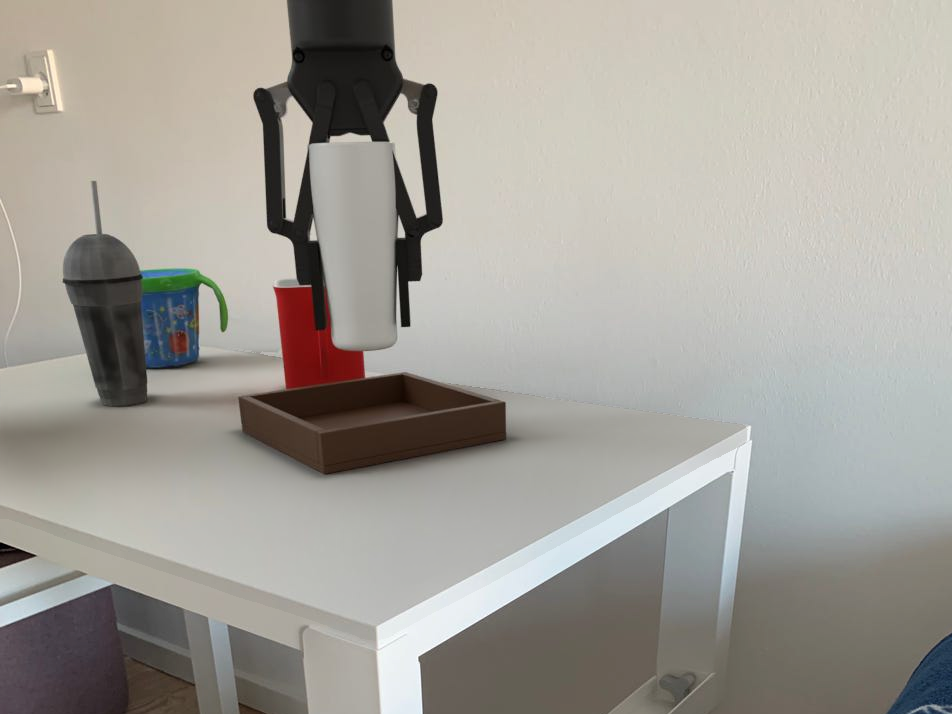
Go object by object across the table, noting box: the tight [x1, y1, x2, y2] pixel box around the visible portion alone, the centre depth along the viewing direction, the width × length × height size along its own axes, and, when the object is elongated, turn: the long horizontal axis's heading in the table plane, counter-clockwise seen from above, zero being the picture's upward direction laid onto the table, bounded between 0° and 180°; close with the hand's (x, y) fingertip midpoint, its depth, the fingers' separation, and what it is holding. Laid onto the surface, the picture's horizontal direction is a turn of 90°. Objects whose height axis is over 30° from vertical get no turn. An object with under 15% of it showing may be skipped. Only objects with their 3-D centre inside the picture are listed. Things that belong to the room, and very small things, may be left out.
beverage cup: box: [62, 180, 149, 407], centre depth 96 cm, size 7×7×20 cm
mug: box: [272, 277, 366, 389], centre depth 98 cm, size 12×8×11 cm
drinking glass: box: [306, 141, 400, 352], centre depth 79 cm, size 7×7×15 cm
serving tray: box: [237, 371, 507, 475], centre depth 85 cm, size 17×17×3 cm
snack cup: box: [140, 267, 229, 369], centre depth 116 cm, size 16×10×10 cm
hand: (363, 325), depth 81 cm, fingers closed on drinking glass, 6 cm apart
